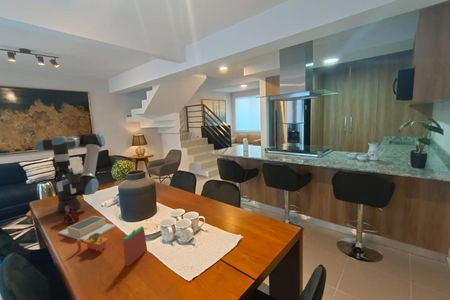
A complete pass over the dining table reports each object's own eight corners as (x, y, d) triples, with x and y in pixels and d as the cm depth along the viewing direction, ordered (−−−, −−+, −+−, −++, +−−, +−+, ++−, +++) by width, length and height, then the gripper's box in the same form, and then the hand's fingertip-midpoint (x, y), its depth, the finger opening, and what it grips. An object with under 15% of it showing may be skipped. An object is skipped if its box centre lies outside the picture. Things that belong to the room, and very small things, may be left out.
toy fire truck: (69, 226, 136) (66, 210, 134) (61, 221, 142) (59, 207, 141) (81, 221, 141) (79, 206, 140) (73, 217, 148) (71, 203, 147)
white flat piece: (88, 220, 142) (87, 213, 142) (115, 226, 132) (115, 218, 131) (58, 233, 126) (57, 225, 125) (87, 242, 116) (86, 233, 115)
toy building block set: (128, 266, 95) (125, 237, 93) (74, 253, 107) (70, 226, 105) (147, 250, 106) (144, 224, 104) (96, 239, 118) (93, 215, 116)
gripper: (44, 160, 137) (49, 192, 140) (68, 162, 128) (73, 196, 131) (56, 158, 144) (61, 188, 147) (80, 160, 135) (85, 192, 138)
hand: (67, 192), depth 139 cm, fingers open, 13 cm apart
